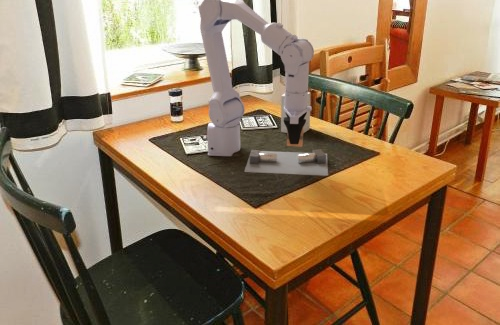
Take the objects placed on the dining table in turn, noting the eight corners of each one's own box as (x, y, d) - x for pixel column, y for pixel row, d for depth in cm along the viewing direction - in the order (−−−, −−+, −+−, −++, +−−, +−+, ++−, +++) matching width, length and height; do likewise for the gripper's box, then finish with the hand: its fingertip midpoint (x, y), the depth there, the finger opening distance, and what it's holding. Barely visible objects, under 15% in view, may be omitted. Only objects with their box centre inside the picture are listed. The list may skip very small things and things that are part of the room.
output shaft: (300, 169, 123) (300, 158, 121) (295, 162, 127) (296, 151, 125) (325, 166, 124) (326, 155, 123) (320, 160, 128) (320, 149, 127)
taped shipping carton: (286, 145, 118) (287, 127, 116) (287, 140, 121) (288, 122, 119) (302, 146, 117) (303, 128, 115) (303, 140, 121) (303, 123, 119)
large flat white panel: (244, 175, 120) (244, 171, 120) (251, 153, 133) (251, 150, 132) (327, 179, 118) (328, 175, 117) (326, 156, 130) (327, 153, 130)
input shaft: (249, 167, 125) (249, 156, 123) (251, 160, 128) (251, 149, 127) (275, 168, 124) (275, 157, 122) (277, 161, 128) (277, 150, 126)
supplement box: (310, 129, 150) (311, 92, 145) (300, 136, 145) (301, 98, 139) (290, 125, 154) (291, 89, 148) (280, 132, 148) (280, 94, 143)
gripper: (311, 99, 106) (309, 152, 112) (312, 82, 119) (310, 130, 125) (281, 98, 107) (280, 150, 113) (286, 82, 120) (285, 129, 126)
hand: (294, 140), depth 119 cm, fingers closed on taped shipping carton, 4 cm apart
